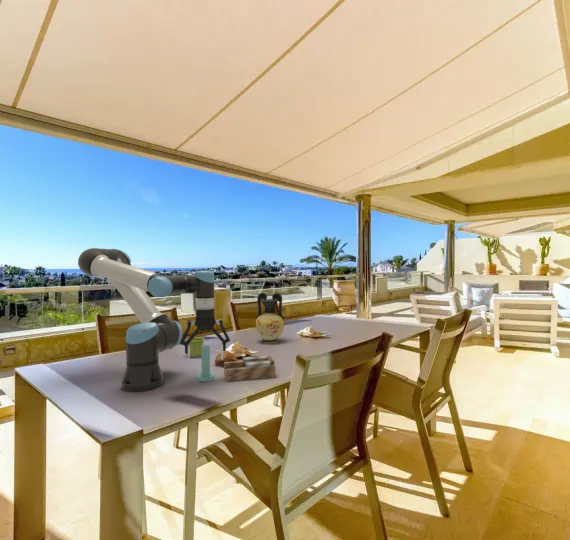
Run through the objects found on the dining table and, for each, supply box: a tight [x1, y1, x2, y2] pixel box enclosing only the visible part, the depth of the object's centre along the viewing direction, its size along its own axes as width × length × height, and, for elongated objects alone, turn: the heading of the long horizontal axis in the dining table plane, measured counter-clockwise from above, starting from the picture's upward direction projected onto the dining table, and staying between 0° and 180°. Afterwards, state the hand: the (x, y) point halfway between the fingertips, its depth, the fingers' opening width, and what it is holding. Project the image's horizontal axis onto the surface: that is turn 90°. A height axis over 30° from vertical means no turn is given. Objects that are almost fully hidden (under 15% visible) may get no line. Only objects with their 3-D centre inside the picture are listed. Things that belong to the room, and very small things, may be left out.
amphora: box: [255, 292, 285, 344], centre depth 211 cm, size 18×17×30 cm
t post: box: [197, 344, 215, 383], centre depth 143 cm, size 6×6×14 cm
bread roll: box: [214, 350, 239, 368], centre depth 164 cm, size 10×10×8 cm
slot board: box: [223, 355, 276, 382], centre depth 147 cm, size 20×12×6 cm, turn 105°
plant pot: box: [185, 336, 205, 358], centre depth 180 cm, size 9×9×9 cm
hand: (205, 360), depth 143 cm, fingers open, 12 cm apart
